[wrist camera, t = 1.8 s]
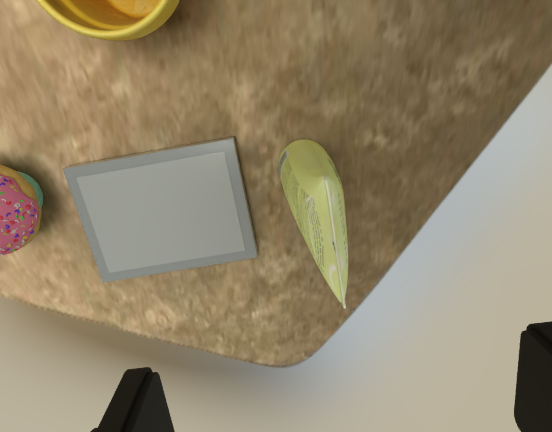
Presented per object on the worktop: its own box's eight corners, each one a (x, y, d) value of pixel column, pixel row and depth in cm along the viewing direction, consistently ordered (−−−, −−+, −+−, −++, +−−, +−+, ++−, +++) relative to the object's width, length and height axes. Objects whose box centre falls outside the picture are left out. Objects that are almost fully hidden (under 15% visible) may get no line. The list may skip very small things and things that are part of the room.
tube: (344, 163, 39) (410, 244, 21) (311, 203, 41) (345, 311, 22) (299, 126, 38) (326, 178, 20) (266, 168, 40) (262, 253, 21)
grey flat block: (234, 136, 38) (232, 138, 37) (257, 251, 42) (257, 257, 41) (70, 165, 39) (62, 169, 38) (108, 275, 43) (102, 283, 42)
